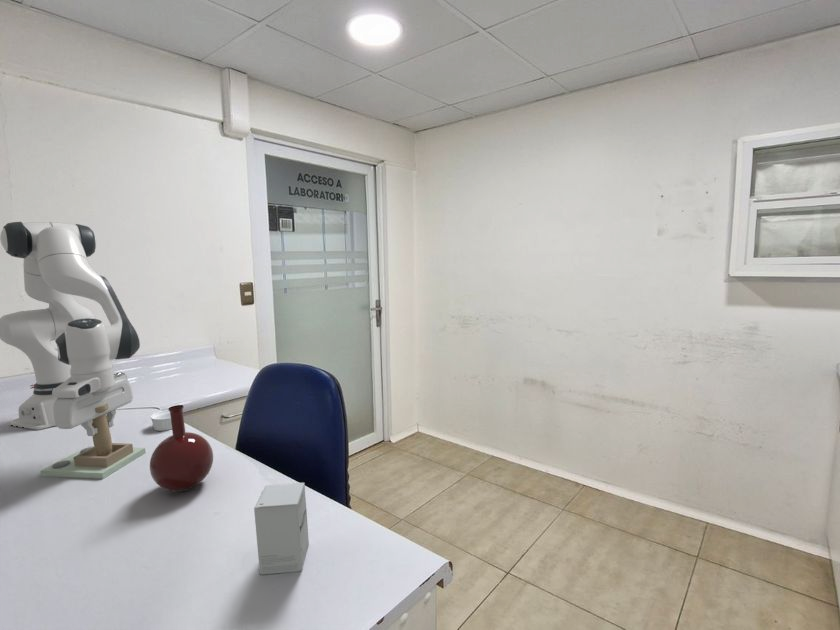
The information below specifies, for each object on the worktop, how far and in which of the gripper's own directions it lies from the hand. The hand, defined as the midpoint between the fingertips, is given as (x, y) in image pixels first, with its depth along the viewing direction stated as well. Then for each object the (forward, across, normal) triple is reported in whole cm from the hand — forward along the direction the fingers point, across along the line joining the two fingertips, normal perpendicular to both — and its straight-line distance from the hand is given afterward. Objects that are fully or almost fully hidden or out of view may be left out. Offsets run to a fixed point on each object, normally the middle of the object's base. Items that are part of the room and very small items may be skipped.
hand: (100, 431), depth 113 cm
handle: (+8, 0, 0) cm, 8 cm away
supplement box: (+10, +30, +65) cm, 72 cm away
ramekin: (+10, -25, -1) cm, 27 cm away
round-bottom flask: (+10, +9, +30) cm, 33 cm away
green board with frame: (+9, 0, -3) cm, 10 cm away
